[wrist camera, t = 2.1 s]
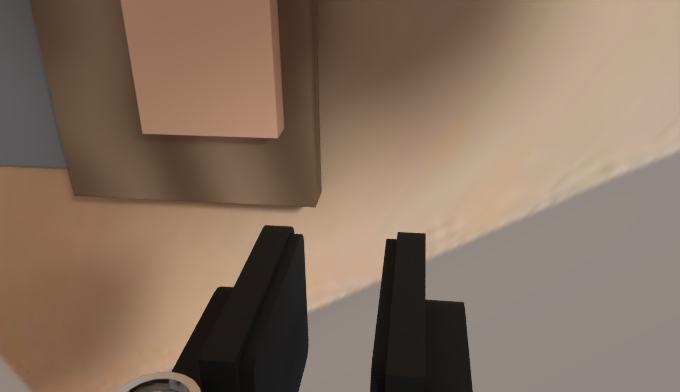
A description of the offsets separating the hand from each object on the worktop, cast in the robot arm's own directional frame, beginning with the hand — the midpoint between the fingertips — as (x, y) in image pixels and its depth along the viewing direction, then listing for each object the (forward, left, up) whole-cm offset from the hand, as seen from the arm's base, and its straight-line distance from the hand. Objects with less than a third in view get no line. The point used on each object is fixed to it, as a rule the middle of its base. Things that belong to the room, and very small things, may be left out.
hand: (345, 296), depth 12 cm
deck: (+11, 0, -21) cm, 24 cm away
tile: (+9, 0, -19) cm, 21 cm away
